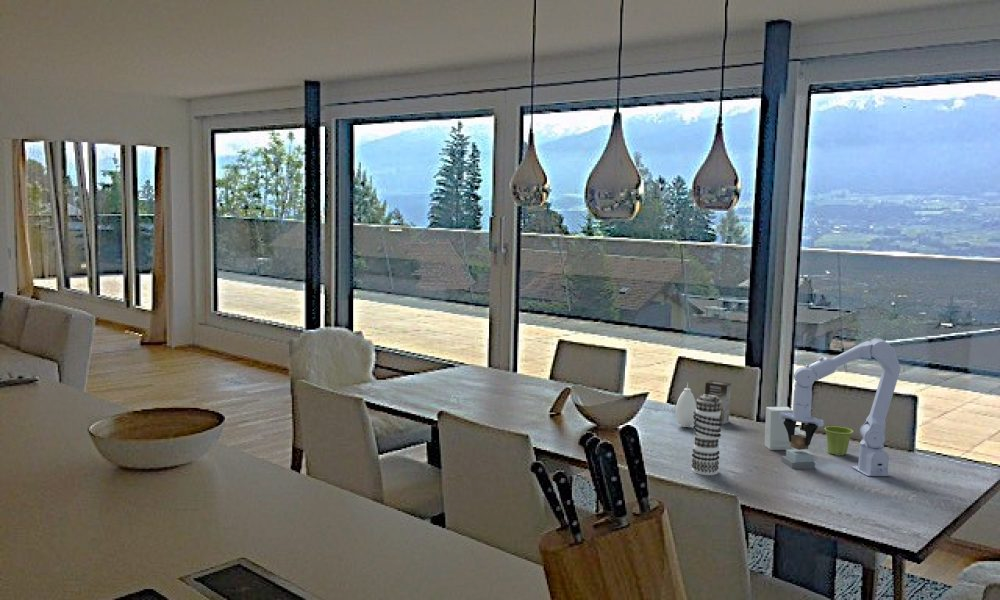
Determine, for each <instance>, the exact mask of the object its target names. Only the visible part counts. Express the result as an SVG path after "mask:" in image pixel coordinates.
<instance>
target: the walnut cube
mask: <svg viewBox="0 0 1000 600" xmlns="http://www.w3.org/2000/svg"><path fill="white" fill-rule="evenodd" d="M805 440H806V435H803V434H800V433H797V434H794V435H791V445H790V447H792V449H798V450H803V449H805V450H808V449H809V445H808V446H806V445H805Z"/></svg>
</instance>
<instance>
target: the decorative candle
mask: <svg viewBox="0 0 1000 600" xmlns="http://www.w3.org/2000/svg"><path fill="white" fill-rule="evenodd" d="M695 401H696V407H697V408H696V411H695V412H696V413H695V412H694V414H695V415H693V418H694V419H695V421H694V422H693V426H692V427H693V430H694V431H693V432H692V433H693V436H694V443H693V448H692V452H693V453H692V458H691V462H692V463H691V472H693V473H695V474H697V475H702V476H714V475H715V476H716V475H717V474H718V473H719V471H718V470H719V464H720V461H719V459H720V456H719V455H720V448H719V439H720V438H721V436H722V434H721V432H722V429H721V428H720V427H721V426H722V425H723V424H722V423H720V421H722V418H721V417H720V415H721V410H720V406H721V405H720V404H721V402H722V401H721V400H720V399H719V398H718V396H716V395H711V394H705V393H704V394H700V395H699V396H698V397H697V398H695Z"/></svg>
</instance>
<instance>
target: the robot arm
mask: <svg viewBox="0 0 1000 600" xmlns="http://www.w3.org/2000/svg"><path fill="white" fill-rule="evenodd" d="M872 357H873V358H874V359H875V360H877V362H878V363H879V366H880V367H881V368H882V371H881V375H880V378H879V381H878V385H877V389H876V392H875V395H874V398H873V401H872V406H871V409H870V411H869V414H868V416H867V417H866V419H865V422H864V423H863V424H862V425H861V426H860V429H859V433H860V437H862V439H861V440H860V442H859V450H858V465H855V466H854V465H853V466H852V468H853V469H854V470H856V471H858V472H859V473H861V474H864V475H865V476H867V477H890V476H891V474H890V473H889V462H890V461H889V460H890V459H889V458H890V457H889V455H888V453H887V451H886V450H885V449H884V448H885V446H884V445H885V444H884V443H885V442H886V434H885V431H886V419H887V415H888V412H889V409H890V406H891V401H892V399H893V395H894V393H895V389H896V386H897V382H898V379H899V376H900V372H901V368H902V367H901V365H900V362H899V359H898V356H897V352H896V350H895V349H894V348H893V346H892V345H891V344H890V343H889V342H887V341H885V340H884V339H883V338H880V337H874V338H871V339H870V340H866V341H863V342H861V343H859V344H857V345H855V346H853V347H851V348H850V349H847V350H845V351H843V352H842V353H840V354H837V355H836V356H833V357H828V356H825V357H823V356H821V357H819V358H818V360H817V361H815V362H813V363H810V364H805V367H799V368H797V369H796V370H795V371H794V374H793V378H794V379H793V380H795V383H794V388H793V401H792V410H793V414H791V413H784V412H781V413H780V415H779V419H785V421H784V422H783V423H784V425H785V427H786V430H787V433H788V437H789V442H791V435H795V431H796V425H797V423H803V424H805V425H804V429H805V436H806V440H805V445H806V446H808V447H809V446H810V445H811V443H812V439H813V436H814V434H815V433H816V430H817V429H818V428H819V427H820V428H821V427H824V423H825V422H824V421H825V420H823V419H821V418H820V419H819V418H817V417H814V416H811V415H812V414H811V413H812V399H813V390H812V389H813V385H814V383H815V381H819V380H821V379H824V378H826V377H828V376H830V375H833V374H834V373H836V370H837V368H838V367H840V366H842V365H846V364H847V363H850V362H852V361H856V360H858V359H860V358H862V359H872Z"/></svg>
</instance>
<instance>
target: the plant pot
mask: <svg viewBox="0 0 1000 600" xmlns="http://www.w3.org/2000/svg"><path fill="white" fill-rule="evenodd" d="M824 431H825V434H826V443H827V452H829V453H828V454H832V455H833V454H835V455H834V456H840V455H842V456H846V455H847V452H848V447H849V444H850V439H851V437H852V434H853V433H854V430H853V429H852V428H848V427H843V426H836V425H835V426H832V425H831V426H825V427H824ZM844 454H845V455H844Z"/></svg>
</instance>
